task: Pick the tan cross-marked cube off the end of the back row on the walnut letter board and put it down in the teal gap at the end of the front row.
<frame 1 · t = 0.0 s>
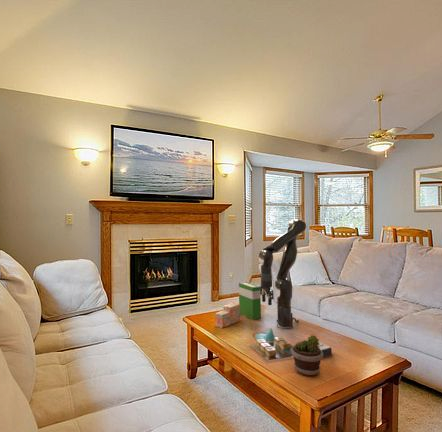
hand: (266, 303, 205), 17 cm above the table, tool pointing down, fingers open, 8 cm apart
stack of blocks: (228, 323, 217), on the table
letter board: (276, 351, 171), on the table
calculator: (313, 351, 170), on the table
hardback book: (249, 315, 233), on the table
diorama: (266, 339, 189), on the table
tan cross-marked cube: (270, 354, 165), point 1 cm above the table, touching letter board
flowerpot: (307, 372, 148), on the table
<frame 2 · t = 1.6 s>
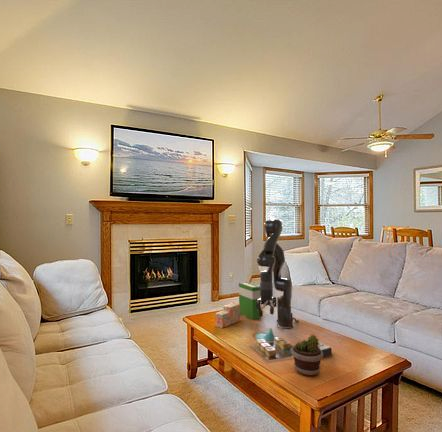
hand: (266, 315, 180), 17 cm above the table, tool pointing down, fingers open, 8 cm apart
nothing on the table moved.
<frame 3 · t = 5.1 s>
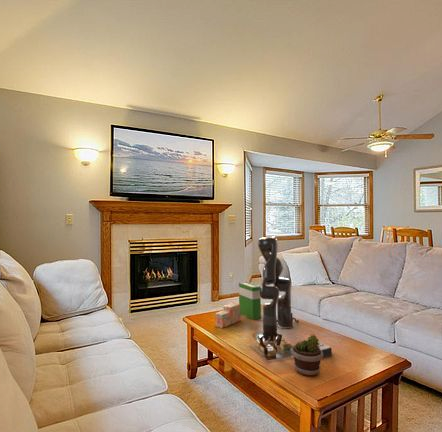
hand: (270, 353, 165), 1 cm above the table, tool pointing down, fingers closed on tan cross-marked cube, 4 cm apart
tan cross-marked cube: (270, 354, 165), point 1 cm above the table, touching gripper, letter board
everything else where it was.
when the fingers open (1 cm above the table, at t = 11.7 s): tan cross-marked cube stays where it is, resting on letter board.
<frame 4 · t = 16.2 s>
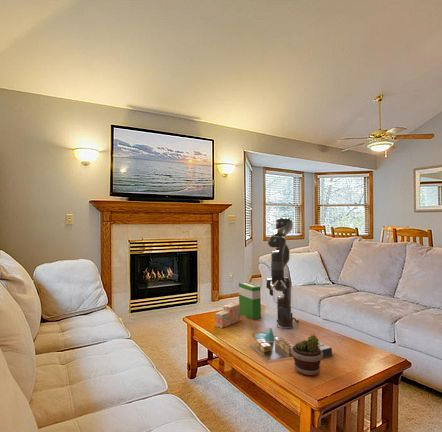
hand: (277, 294, 186), 28 cm above the table, tool pointing down, fingers open, 8 cm apart
tan cross-marked cube: (290, 351, 168), point 1 cm above the table, touching letter board
everything else where it was.
at the end: tan cross-marked cube 0.1 cm from the target spot, point 1.1 cm above the table; tan cross-marked cube tilted 0°; the gripper is holding nothing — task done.
